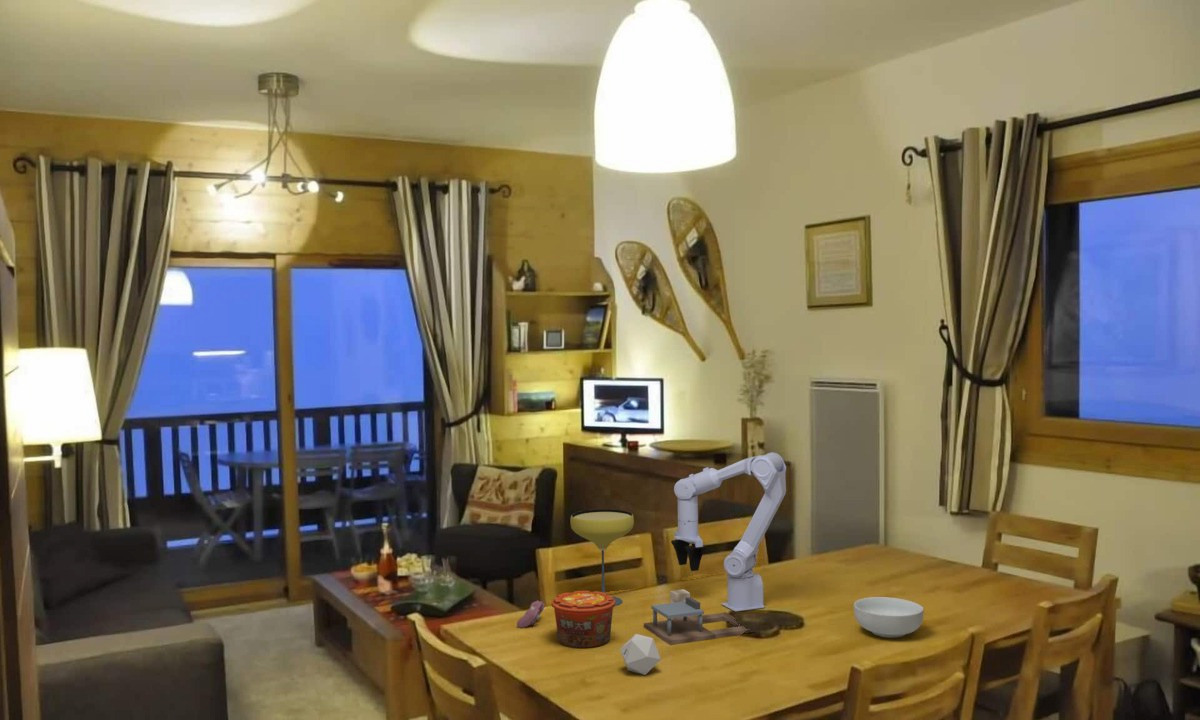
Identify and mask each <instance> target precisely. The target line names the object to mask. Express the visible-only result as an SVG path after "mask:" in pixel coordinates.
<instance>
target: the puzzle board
mask: <svg viewBox="0 0 1200 720" xmlns="http://www.w3.org/2000/svg"><path fill="white" fill-rule="evenodd" d="M734 617H735V616H733V615H731V614H730V613H727V612H719V613H718V612H717V613H711V614H702V625H703V624H709V623H716V622H725V623H727V622H726V621H730V622H733V623H735V624H737V622H736V621H735V620H736V619H735V618H736V617H735V618H734ZM734 619H735V620H734ZM737 625H738V624H737ZM643 628H645V629H646V630H648V631H649V632H651V633H652V634H653V635H655V636H656V637H658V639H661V640H662V641H664V642H665V643H667V644H668V645H670V646H672V645H678V644H686V643H692V642H699V641H707V640H713V639H714V640H715V639H721V638H728V637H733V636H734V637H735V636H741V635H742V634H743V633H744V632H745V631H747V630H750V629H746V628H745V627H744V626H740V624H739V626H738V627H734V626H732V627H725V628H717V629H710V630H709V629H707V628H706V627H704V626H702V630H698V616H694V617H687V621H683V618H680V619H673V618H671V632H672V634H668V633H667V619H666V620H657V625H653V621H651V622H650V621H649V622H645V623H643ZM743 635H744V634H743ZM743 635H742V636H743Z"/></svg>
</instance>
